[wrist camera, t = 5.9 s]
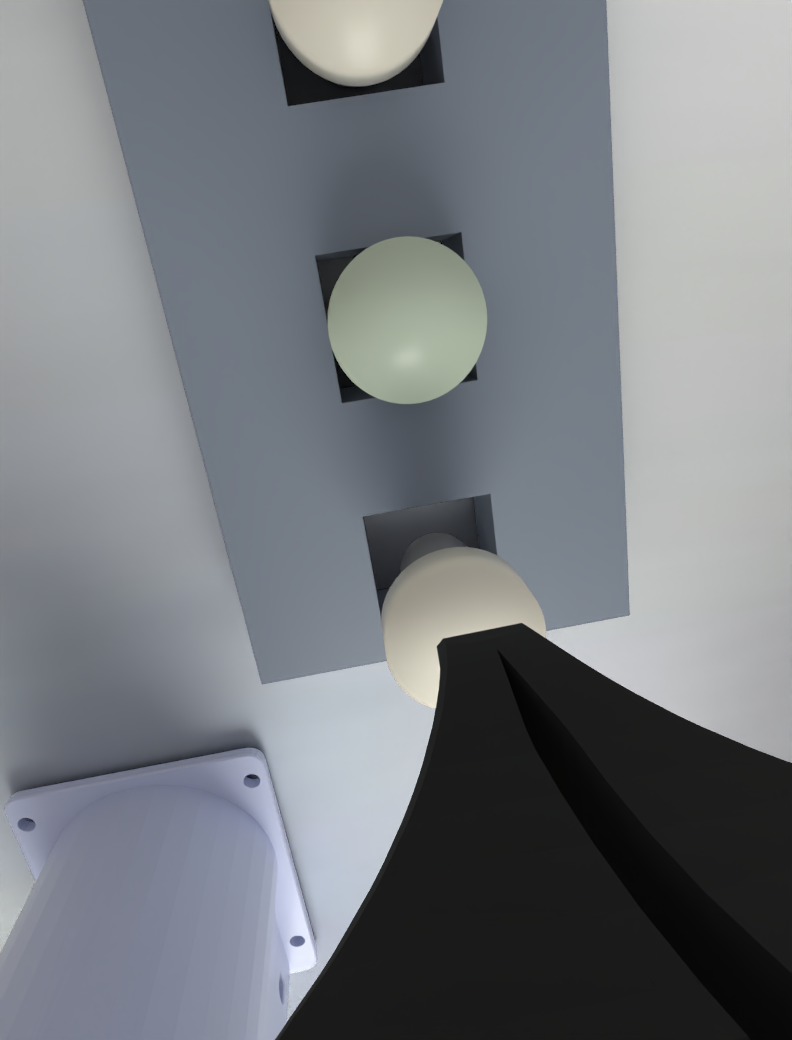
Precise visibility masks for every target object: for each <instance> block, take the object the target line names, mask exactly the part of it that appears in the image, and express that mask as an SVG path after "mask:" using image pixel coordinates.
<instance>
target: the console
mask: <svg viewBox="0 0 792 1040" xmlns="http://www.w3.org/2000/svg"><path fill="white" fill-rule="evenodd" d="M83 3H84V6H85V10H86V14H87V18H88V22H89V26H90V29H91V33H92V37H93V41H94V45H95V49H96V52H97V56H98V60H99V64H100V68H101V71H102V75H103V79H104V83H105V87H106V91H107V94H108V98H109V102H110V106H111V110H112V114H113V117H114V121H115V125H116V129H117V133H118V136H119V140H120V144H121V148H122V152H123V156H124V159H125V163H126V167H127V171H128V175H129V179H130V182H131V186H132V190H133V194H134V198H135V201H136V205H137V209H138V213H139V217H140V221H141V224H142V228H143V232H144V236H145V240H146V244H147V247H148V251H149V255H150V259H151V263H152V266H153V270H154V274H155V278H156V282H157V286H158V289H159V293H160V297H161V301H162V305H163V309H164V312H165V316H166V320H167V324H168V328H169V331H170V335H171V339H172V343H173V347H174V351H175V354H176V358H177V362H178V366H179V370H180V374H181V377H182V381H183V385H184V389H185V393H186V397H187V400H188V404H189V408H190V412H191V416H192V419H193V423H194V427H195V431H196V435H197V439H198V442H199V446H200V450H201V454H202V458H203V462H204V465H205V469H206V473H207V477H208V481H209V484H210V488H211V492H212V496H213V500H214V504H215V507H216V511H217V515H218V519H219V523H220V527H221V530H222V534H223V538H224V542H225V546H226V549H227V553H228V557H229V561H230V565H231V569H232V572H233V576H234V580H235V584H236V588H237V592H238V595H239V599H240V603H241V607H242V611H243V614H244V618H245V622H246V626H247V630H248V634H249V637H250V641H251V645H252V649H253V653H254V657H255V660H256V664H257V668H258V672H259V676H260V679H261V683H262V684H266V683H272V682H277V681H282V680H288V679H293V678H298V677H304V676H309V675H314V674H320V673H325V672H330V671H336V670H341V669H346V668H352V667H357V666H362V665H367V664H373V663H378V662H383V661H387V658H386V652H385V646H384V640H383V634H382V626H381V613H382V608H383V603H384V600H385V597H386V594H387V592H388V590H389V588H387V589H381V590H377V589H376V583H375V578H374V572H373V567H372V561H371V556H370V550H369V545H368V539H367V534H366V528H365V523H364V517H363V516H369V515H375V514H380V513H386V512H391V511H397V510H403V509H408V508H414V507H419V506H425V505H431V504H436V503H442V502H447V501H453V500H459V499H464V498H470V497H473V498H474V507H475V515H476V523H477V532H478V540H479V548H480V549H482V550H485V551H488V552H490V553H493V554H495V555H497V556H499V557H500V558H502V559H504V560H505V561H506V562H507V563H509V564H510V565H511V566H512V567H513V568H514V569H515V570H516V571H517V573H518V574H519V576H520V577H521V578H522V580H523V581H524V583H525V584H526V586H527V587H528V589H529V590H530V592H531V593H532V595H533V596H534V597H535V599H536V600H537V602H538V604H539V606H540V608H541V610H542V613H543V616H544V620H545V626H546V631H548V630H554V629H559V628H564V627H570V626H575V625H580V624H586V623H591V622H596V621H602V620H607V619H612V618H618V617H623V616H628V615H630V611H629V585H628V559H627V533H626V507H625V481H624V454H623V428H622V402H621V376H620V350H619V324H618V298H617V272H616V246H615V220H614V193H613V167H612V141H611V115H610V89H609V63H608V37H607V11H606V0H443V3H442V5H441V8H440V10H439V13H438V15H437V18H436V21H435V23H434V26H433V28H432V31H431V33H430V36H429V38H428V40H427V42H426V43H425V45H424V47H423V49H422V50H421V51H420V58H421V67H422V75H423V83H424V86H418V87H412V88H405V89H399V90H392V91H385V92H379V93H372V94H366V95H359V96H353V97H346V98H339V99H333V100H326V101H320V102H313V103H307V104H300V105H293V106H289V105H288V100H287V94H286V89H285V83H284V78H283V72H282V67H281V61H280V56H279V50H278V45H277V39H276V34H275V28H274V23H273V17H272V13H271V10H270V6H269V2H268V0H83ZM405 236H411V237H421V238H426V239H430V240H433V241H435V242H438V241H443V245H444V246H446V247H448V248H449V249H451V250H452V251H454V252H455V253H456V254H458V255H459V256H460V257H461V258H462V259H463V260H464V261H465V262H466V263H467V265H468V266H469V267H470V268H471V270H472V271H473V273H474V274H475V276H476V278H477V279H478V281H479V284H480V286H481V288H482V291H483V294H484V298H485V302H486V308H487V331H486V336H485V341H484V345H483V348H482V351H481V353H480V355H479V357H478V360H477V362H476V363H475V365H474V366H473V368H472V370H471V371H470V372H469V373H468V375H467V376H466V377H465V378H464V379H463V380H462V381H461V382H460V383H459V384H458V385H457V386H456V387H454V388H453V389H452V390H450V391H449V392H447V393H445V394H444V395H442V396H440V397H438V398H435V399H432V400H430V401H426V402H422V403H415V404H398V403H391V402H387V401H384V400H381V399H378V398H376V397H374V396H372V395H370V394H368V393H366V392H365V391H363V390H362V389H360V388H359V387H358V386H354V387H348V388H342V389H340V385H339V380H338V375H337V369H336V364H335V358H334V353H333V350H332V347H331V343H330V339H329V333H328V320H327V314H326V309H325V303H324V298H323V292H322V287H321V281H320V276H319V270H318V265H317V261H321V260H327V259H333V258H339V257H346V256H352V255H358V254H360V253H361V252H362V251H364V250H365V249H367V248H368V247H370V246H372V245H374V244H376V243H378V242H381V241H383V240H387V239H391V238H395V237H405Z"/></svg>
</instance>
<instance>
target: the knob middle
mask: <svg viewBox="0 0 792 1040" xmlns="http://www.w3.org/2000/svg"><path fill="white" fill-rule="evenodd" d="M486 331H487V308H486V302H485V298H484V294H483V291H482V288H481V286H480V284H479V281H478V279H477V278H476V276H475V274H474V273H473V271H472V270H471V268H470V267H469V266H468V265H467V263H466V262H465V261H464V260H463V259H462V258H461V257H460V256H459V255H458V254H456V253H455V252H454V251H452V250H451V249H449V248H448V247H446V246H444V245H442V244H440V243H438V242H435V241H433V240H430V239H426V238H421V237H411V236H405V237H395V238H391V239H387V240H383V241H381V242H378V243H376V244H374V245H372V246H370V247H368V248H367V249H365V250H364V251H362V252H361V253H360V254H359V255H357V256H356V257H355V258H354V259H353V260H352V261H351V262H350V263H349V264H348V265H347V267H346V268H345V269H344V271H343V272H342V273H341V275H340V277H339V279H338V280H337V282H336V284H335V287H334V289H333V291H332V294H331V298H330V302H329V308H328V333H329V339H330V343H331V347H332V350H333V352H334V355H335V358H336V359H337V361H338V363H339V365H340V367H341V368H342V370H343V371H344V372H345V374H346V375H347V376H348V377H349V378H350V379H351V381H352V382H353V383H354V384H356V385H357V386H358V387H359V388H360V389H362V390H363V391H365V392H366V393H368V394H370V395H372V396H374V397H376V398H378V399H381V400H384V401H387V402H391V403H398V404H415V403H422V402H426V401H430V400H432V399H435V398H438V397H440V396H442V395H444V394H445V393H447V392H449V391H450V390H452V389H453V388H454V387H456V386H457V385H458V384H459V383H460V382H461V381H462V380H463V379H464V378H465V377H466V376H467V375H468V373H469V372H470V371H471V370H472V368H473V366H474V365H475V363H476V362H477V360H478V357H479V355H480V353H481V351H482V348H483V345H484V341H485V336H486Z"/></svg>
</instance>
